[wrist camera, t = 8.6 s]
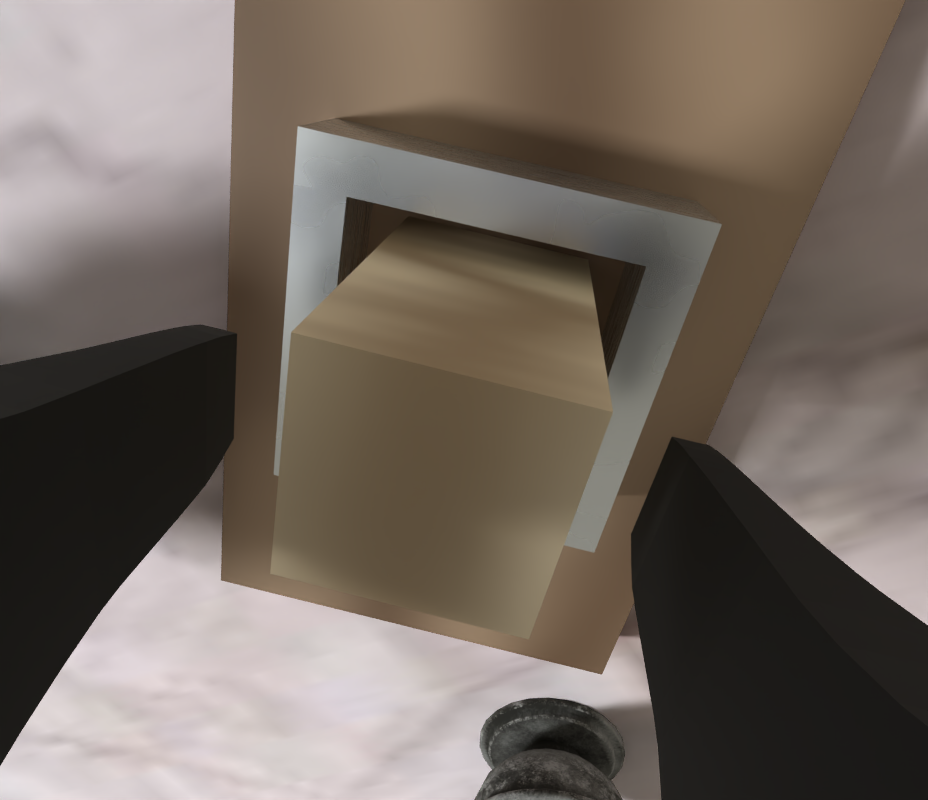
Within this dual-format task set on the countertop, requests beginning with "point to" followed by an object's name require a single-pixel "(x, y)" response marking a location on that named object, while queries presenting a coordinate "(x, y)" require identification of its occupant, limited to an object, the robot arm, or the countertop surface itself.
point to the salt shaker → (550, 752)
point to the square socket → (515, 213)
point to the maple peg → (442, 426)
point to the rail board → (557, 146)
